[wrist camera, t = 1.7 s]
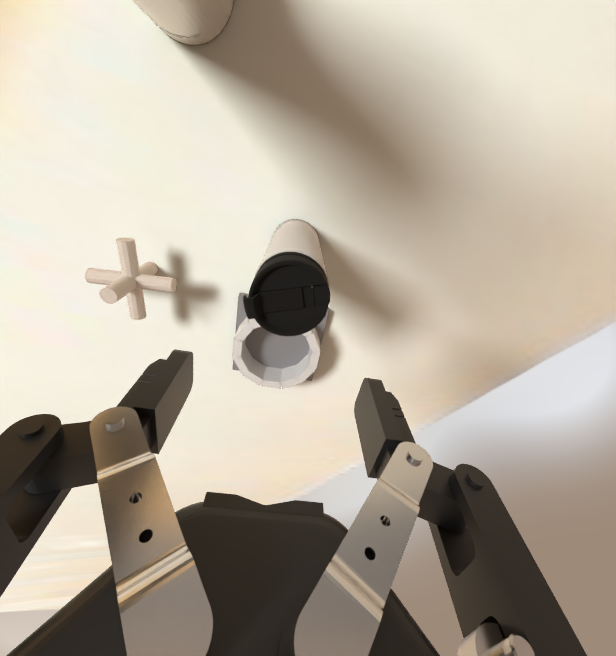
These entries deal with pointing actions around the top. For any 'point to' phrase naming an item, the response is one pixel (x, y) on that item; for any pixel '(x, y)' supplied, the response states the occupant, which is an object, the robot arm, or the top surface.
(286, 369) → the duct collar
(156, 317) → the top surface
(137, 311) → the pipe connector
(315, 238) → the travel mug
